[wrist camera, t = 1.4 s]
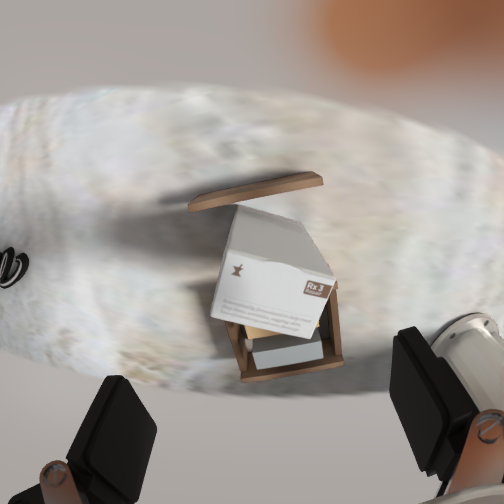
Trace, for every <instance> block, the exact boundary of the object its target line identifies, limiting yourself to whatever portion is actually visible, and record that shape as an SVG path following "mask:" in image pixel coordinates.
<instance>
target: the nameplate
mask: <svg viewBox="0 0 504 504" xmlns="http://www.w3.org/2000/svg"><path fill="white" fill-rule="evenodd" d="M14 253H15V252H14V249H13V248H12V247H10V248H8V249H6V250H5V251H4V253H3V255H2V253H1V252H0V287H1V288H4V289H5V288H9V287H10V286H12V285H13V284H15V283H16V282H17V281H19V280H20V279H21V278H22V277H23V276H24V274H25V272H26V271H27V269H28V266H29V258H28V256H27V255H26V254H25V253H21V254H19V255H18V256H16V261H15V262H17V263H18V266H17V268H16V270H15V272H14V273H13V274H12V275H11V276H10V277H9V278H7V275H8V273H9V271H10V269H11V266H12V263H13V259H14Z"/></svg>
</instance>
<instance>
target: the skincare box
mask: <svg viewBox="0 0 504 504" xmlns="http://www.w3.org/2000/svg"><path fill="white" fill-rule="evenodd" d="M335 281H336V277H335V276H334V274H333V272H332V271H331V269H330V268H329V266H328V264H327V262H326V261H325V259H324V258H323V256H322V254H321V253H320V251H319V249H318V248H317V246H316V245H315V243H314V241H313V240H312V238H311V237H310V235H309V233H308V232H307V230H306V229H305V227H304V225H303V224H302V223H301V222H298V221H295V220H291V219H288V218H285V217H281V216H278V215H274V214H271V213H267V212H264V211H260V210H257V209H253V208H250V207H246V206H243V205H237V207H236V211H235V214H234V218H233V221H232V225H231V228H230V232H229V236H228V240H227V243H226V246H225V250H224V254H223V258H222V263H221V267H220V272H219V276H218V281H217V285H216V289H215V293H214V299H213V302H212V306H211V310H210V316H211V317H213V318H217V319H221V320H225V321H230V322H234V323H238V324H242V325H247V326H251V327H256V328H260V329H265V330H269V331H274V332H278V333H283V334H288V335H292V336H297V337H302V338H307V339H310V338H311V337H312V334H313V332H314V330H315V328H316V325H317V323H318V321H319V318H320V316H321V314H322V311H323V309H324V307H325V304H326V302H327V300H328V297H329V295H330V293H331V290H332V288H333V286H334V283H335Z"/></svg>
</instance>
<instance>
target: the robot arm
mask: <svg viewBox="0 0 504 504" xmlns="http://www.w3.org/2000/svg"><path fill="white" fill-rule="evenodd" d="M389 391H390V397H391V400H392V402H393V405H394V407H395V409H396V412H397V414H398V416H399V419H400V421H401V424H402V426H403V428H404V431H405V433H406V436H407V438H408V441H409V443H410V446H411V448H412V451H413V453H414V456H415V458H416V461H417V464H418V467H419V469H420V471H421V472H423V471H426V474H427V476H428V477H430V476H432V475H434V474H437V476H438V478H439V480H440V481H441V483H440V486H439V488H438V490H437V492H436V495H435V497H434V499H432V500H429V501H426V502H423V503H420V504H504V339H502V337H501V336H500V335H499V329H498V325H497V323H496V322H495V321H494V320H493V319H492V318H491V317H490V316H488V315H486V314H481V313H477V314H472V315H469V316H466V317H464V318H462V319H460V320H458V321H457V322H455V323H454V324H452V325H451V326H450V327H448V328H447V329H446V330H445V331H444V332H443V333H442V334H441V335H440V336H439V337H438V338H437V339H436V340H435V342H434V343H433V344H432V346H431V347H430V346H429V345H428V343H427V342H426V340H425V339H424V337H423V336H422V335H421V333H420V332H419V330H418V329H417V328H416V327H415V326H413V327H410V328H406V329H403V330H400V331H399V332H398V335H397V336H394V339H393V354H392V367H391V379H390V389H389ZM156 433H157V426H156V424H155V422H154V420H153V419H152V418H151V416H150V414H149V413H148V411H147V410H146V408H145V407H144V405H143V404H142V402H141V401H140V399H139V397H138V396H137V394H136V392H135V391H134V389H133V388H132V386H131V384H130V382H129V381H128V380H127V379H125V378H124V377H123V376H122V375H111V376H107V377H106V378H105V379H104V381H103V383H102V385H101V387H100V389H99V391H98V393H97V395H96V397H95V399H94V401H93V403H92V404H91V406H90V408H89V410H88V412H87V415H86V416H85V418H84V420H83V422H82V424H81V426H80V429H79V431H78V433H77V435H76V437H75V439H74V441H73V443H72V445H71V447H70V449H69V452H68V454H67V456H66V459H67V460H68V463H67V464H66V463H65V462H63V461H60V460H56V461H52V462H50V463H48V464H46V466H45V467H44V468H43V469H42V471H41V473H40V477H39V478H40V483H39V484H37V485H35V486H33V487H31V488H29V489H27V490H25V491H23V492H21V493H19V494H17V495H15V496H13V497H12V498H11V499H10V500H9V502H8V504H134V503H135V502H137V501H138V499H139V496H140V492H141V488H142V484H143V480H144V477H145V473H146V469H147V465H148V462H149V458H150V455H151V451H152V447H153V444H154V440H155V436H156Z"/></svg>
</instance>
